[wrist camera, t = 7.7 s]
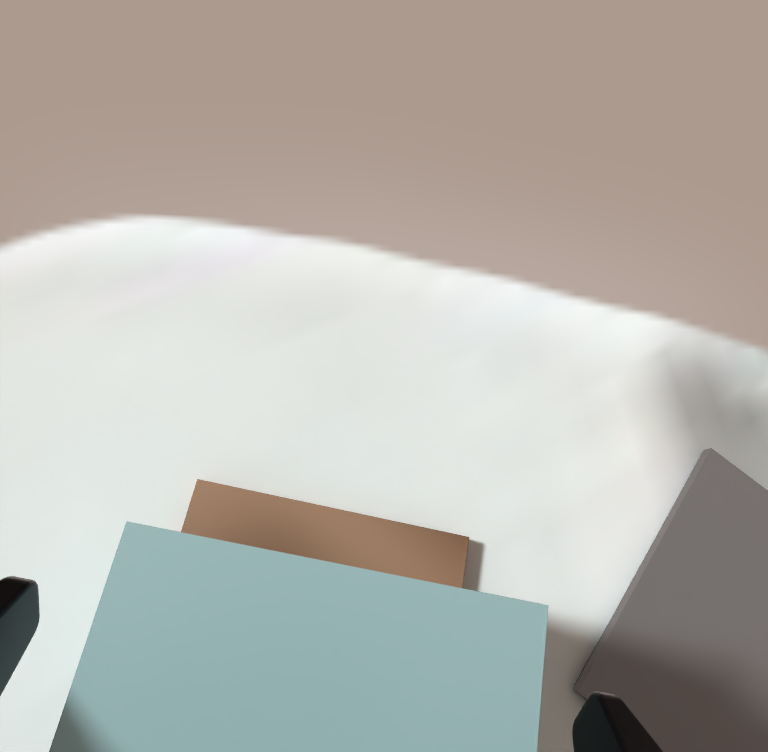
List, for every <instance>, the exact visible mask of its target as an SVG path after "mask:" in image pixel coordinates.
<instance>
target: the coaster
mask: <svg viewBox="0 0 768 752" xmlns="http://www.w3.org/2000/svg"><path fill="white" fill-rule="evenodd" d="M181 532H182V533H187V534H192V535H197V536H203V537H208V538H213V539H218V540H223V541H228V542H233V543H238V544H243V545H248V546H253V547H258V548H263V549H268V550H273V551H278V552H283V553H288V554H293V555H298V556H303V557H308V558H313V559H318V560H323V561H328V562H333V563H338V564H343V565H348V566H353V567H358V568H363V569H368V570H373V571H378V572H383V573H388V574H393V575H398V576H403V577H408V578H413V579H418V580H423V581H428V582H433V583H438V584H443V585H448V586H453V587H458V588H462V586H463V579H464V571H465V564H466V556H467V549H468V542H469V537H466V536H461V535H457V534H452V533H447V532H443V531H438V530H433V529H428V528H424V527H419V526H414V525H410V524H405V523H400V522H396V521H391V520H386V519H382V518H377V517H372V516H368V515H363V514H358V513H354V512H349V511H344V510H339V509H335V508H330V507H325V506H321V505H316V504H311V503H307V502H302V501H297V500H293V499H288V498H283V497H279V496H274V495H269V494H265V493H260V492H255V491H250V490H246V489H241V488H236V487H232V486H227V485H222V484H218V483H213V482H208V481H204V480H199V479H197V482H196V485H195V489H194V492H193V495H192V498H191V502H190V505H189V508H188V511H187V515H186V518H185V521H184V524H183V528H182V531H181Z"/></svg>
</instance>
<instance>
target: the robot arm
mask: <svg viewBox="0 0 768 752" xmlns="http://www.w3.org/2000/svg"><path fill="white" fill-rule="evenodd" d="M38 623H39V595H38V585H37V583H36V582H35V581H33V580H30V579H25V578H20V577H15V576H10V577H6V578H3V579H1V580H0V696H1V694H2V692H3V690H4V688H5V687H6V685H7V683H8V681H9V679H10V677H11V676H12V674H13V672H14V670H15V668H16V666H17V665H18V663H19V661H20V659H21V657H22V655H23V654H24V652H25V650H26V648H27V646H28V644H29V643H30V641H31V639H32V637H33V635H34V633H35V631H36V629H37V626H38ZM572 735H573V745H574V752H663V750H662V749H661V748H660V747H659V745H658V744H657V743H656V742H655V740H654V739H653V738H652V736H651V735H650V734H649V733H648V731H647V730H646V729H645V728H644V726H643V725H642V724H641V723H640V721H639V720H638V719H637V718H636V716H635V715H634V714H633V712H632V711H631V710H630V709H629V707H628V706H627V705H626V704H625V702H624V701H623V700H622V699H621V698H620V697H618V696H616V695H614V694H609V693H604V692H599V691H595V692H593V693H591V694H590V696H589V697H588V699H587V700H586V702H585V704H584V705H583V707H582V709H581V710H580V712H579V714H578V715H577V717H576V719H575V721H574V724H573V733H572Z"/></svg>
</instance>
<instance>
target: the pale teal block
mask: <svg viewBox="0 0 768 752" xmlns="http://www.w3.org/2000/svg"><path fill="white" fill-rule="evenodd" d="M547 617H548V605H544V604H539V603H534V602H529V601H524V600H519V599H514V598H508V597H503V596H498V595H493V594H488V593H483V592H478V591H473V590H468V589H463V588H458V587H453V586H448V585H443V584H438V583H433V582H428V581H423V580H418V579H413V578H408V577H403V576H398V575H393V574H388V573H383V572H378V571H373V570H368V569H363V568H358V567H353V566H348V565H343V564H338V563H333V562H328V561H323V560H318V559H313V558H308V557H303V556H298V555H293V554H288V553H283V552H278V551H273V550H268V549H263V548H258V547H253V546H248V545H243V544H238V543H233V542H228V541H223V540H218V539H213V538H208V537H203V536H197V535H192V534H187V533H182V532H177V531H172V530H167V529H162V528H157V527H152V526H147V525H142V524H137V523H132V522H126V525H125V528H124V531H123V534H122V537H121V540H120V543H119V546H118V549H117V552H116V555H115V557H114V560H113V563H112V566H111V569H110V572H109V575H108V578H107V581H106V584H105V587H104V590H103V593H102V596H101V599H100V602H99V605H98V608H97V611H96V614H95V617H94V620H93V623H92V626H91V629H90V632H89V635H88V638H87V641H86V644H85V647H84V650H83V653H82V656H81V659H80V662H79V664H78V667H77V670H76V673H75V676H74V679H73V682H72V685H71V688H70V691H69V694H68V697H67V700H66V703H65V706H64V709H63V712H62V715H61V718H60V721H59V724H58V727H57V730H56V733H55V736H54V739H53V742H52V745H51V748H50V751H49V752H537V745H538V732H539V719H540V706H541V694H542V681H543V668H544V655H545V642H546V629H547Z"/></svg>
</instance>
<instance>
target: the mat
mask: <svg viewBox="0 0 768 752" xmlns="http://www.w3.org/2000/svg"><path fill="white" fill-rule="evenodd" d="M573 689H574V690H575V691H576V692H578V693H579V694H580V695H581V696H583V697H584V698H585V699H586V700H587V699H588V697H589V696H590V694H591V693H593V692H595V691H599V692H604V693H609V694H614V695H616V696H618V697H620V698H621V699H622V700H623V701H624V702H625V704H626V705H627V706H628V707H629V709H630V710H631V711H632V712H633V714H634V715H635V716H636V718H637V719H638V720H639V721H640V723H641V724H642V725H643V726H644V728H645V729H646V730H647V731H648V733H649V734H650V735H651V736H652V738H653V739H654V740H655V742H656V743H657V744H658V745H659V747H660V748H661V749H662V750H663V752H768V490H766V489H765V488H764V487H762V486H761V485H760V484H758V483H757V482H756V481H754V480H753V479H752V478H750V477H749V476H748V475H746V474H745V473H744V472H742V471H741V470H740V469H738V468H737V467H736V466H734V465H733V464H732V463H730V462H729V461H728V460H726V459H725V458H724V457H722V456H721V455H720V454H718V453H717V452H716V451H714V450H713V449H712V448H710V449H706V450H704V451H703V453H702V455H701V457H700V458H699V460H698V462H697V464H696V466H695V467H694V469H693V471H692V473H691V475H690V477H689V478H688V480H687V482H686V484H685V486H684V487H683V489H682V491H681V493H680V495H679V497H678V498H677V500H676V502H675V504H674V506H673V507H672V509H671V511H670V513H669V515H668V516H667V518H666V520H665V522H664V524H663V526H662V527H661V529H660V531H659V533H658V535H657V536H656V538H655V540H654V542H653V544H652V546H651V547H650V549H649V551H648V553H647V555H646V556H645V558H644V560H643V562H642V564H641V566H640V567H639V569H638V571H637V573H636V575H635V576H634V578H633V580H632V582H631V584H630V586H629V587H628V589H627V591H626V593H625V595H624V596H623V598H622V600H621V602H620V604H619V606H618V607H617V609H616V611H615V613H614V615H613V616H612V618H611V620H610V622H609V624H608V626H607V627H606V629H605V631H604V633H603V635H602V636H601V638H600V640H599V642H598V644H597V646H596V647H595V649H594V651H593V653H592V655H591V656H590V658H589V660H588V662H587V664H586V666H585V667H584V669H583V671H582V673H581V675H580V676H579V678H578V680H577V682H576V684H575V686H574V687H573Z"/></svg>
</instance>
